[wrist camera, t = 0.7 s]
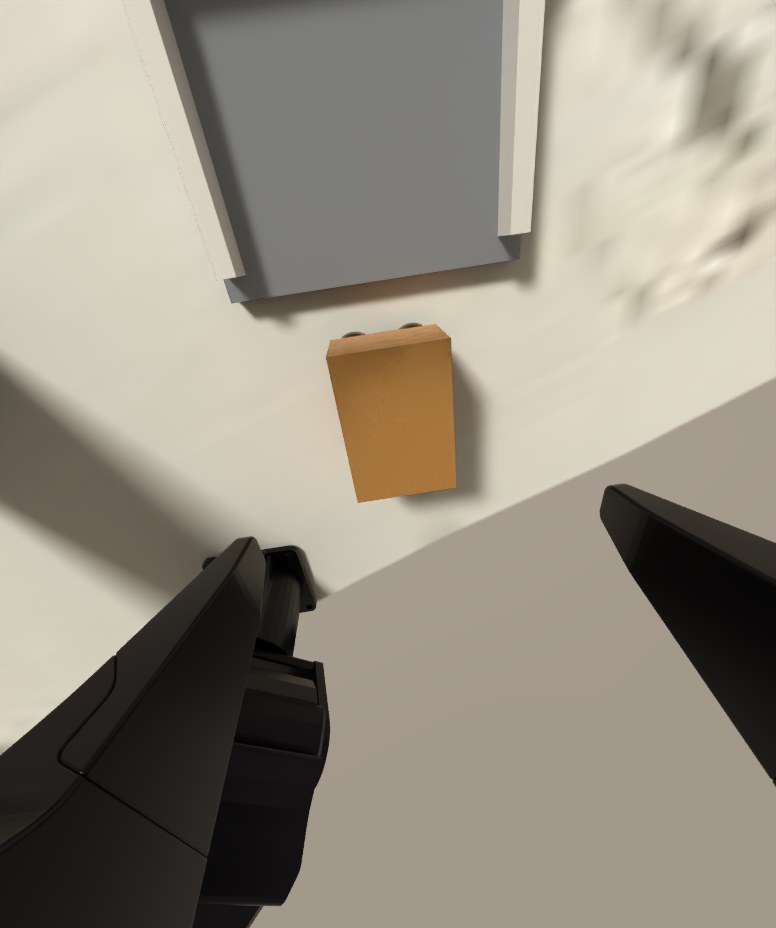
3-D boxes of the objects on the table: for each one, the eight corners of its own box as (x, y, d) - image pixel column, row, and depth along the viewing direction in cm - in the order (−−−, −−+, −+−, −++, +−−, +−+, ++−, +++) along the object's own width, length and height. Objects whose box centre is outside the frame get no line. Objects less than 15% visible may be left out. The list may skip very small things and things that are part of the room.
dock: (510, 258, 17) (538, 260, 14) (237, 300, 17) (216, 309, 14) (526, -144, 11) (578, -260, 9) (115, -81, 11) (44, -179, 9)
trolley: (436, 440, 22) (456, 487, 17) (357, 452, 22) (357, 502, 17) (427, 316, 18) (450, 337, 14) (332, 331, 18) (326, 357, 14)
